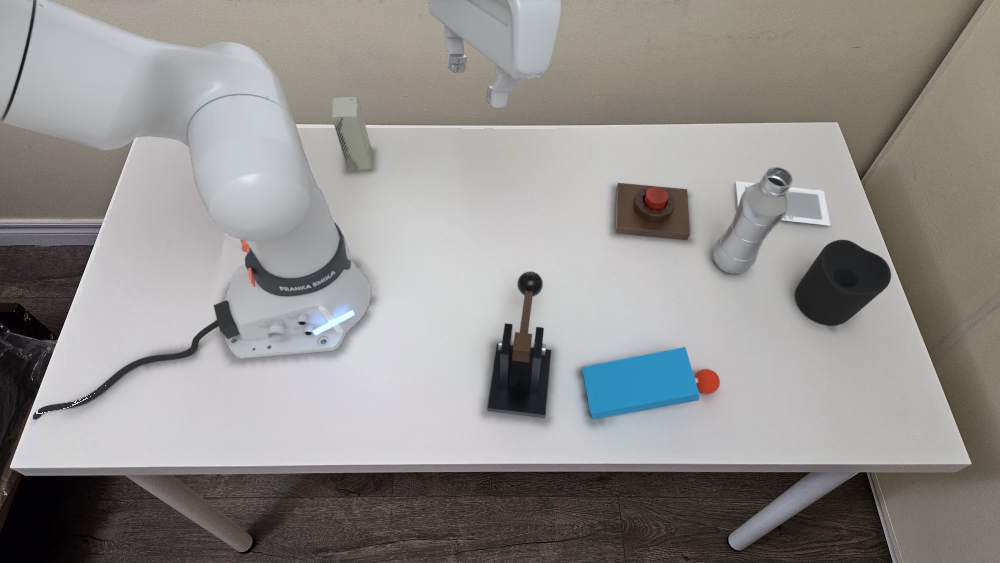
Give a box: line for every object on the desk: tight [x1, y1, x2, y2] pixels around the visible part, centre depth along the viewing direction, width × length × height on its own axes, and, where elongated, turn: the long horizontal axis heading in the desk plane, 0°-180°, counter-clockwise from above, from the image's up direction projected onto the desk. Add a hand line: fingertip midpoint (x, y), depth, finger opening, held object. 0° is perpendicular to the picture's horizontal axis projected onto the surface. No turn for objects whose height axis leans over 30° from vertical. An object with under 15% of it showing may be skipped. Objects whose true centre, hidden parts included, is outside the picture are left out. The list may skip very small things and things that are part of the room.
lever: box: [512, 270, 544, 362], centre depth 77 cm, size 14×4×4 cm, turn 173°
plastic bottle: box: [712, 166, 794, 275], centre depth 85 cm, size 6×7×20 cm
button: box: [644, 186, 668, 210], centre depth 96 cm, size 4×4×2 cm
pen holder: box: [794, 239, 892, 326], centre depth 85 cm, size 9×9×10 cm
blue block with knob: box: [582, 346, 721, 420], centre depth 80 cm, size 7×7×18 cm
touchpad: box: [735, 180, 831, 227], centre depth 99 cm, size 8×15×2 cm, turn 81°
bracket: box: [486, 322, 552, 419], centre depth 77 cm, size 10×8×13 cm
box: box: [331, 96, 373, 172], centre depth 101 cm, size 5×4×13 cm
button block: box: [614, 182, 691, 241], centre depth 98 cm, size 12×10×4 cm
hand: (474, 87), depth 63 cm, fingers open, 8 cm apart
